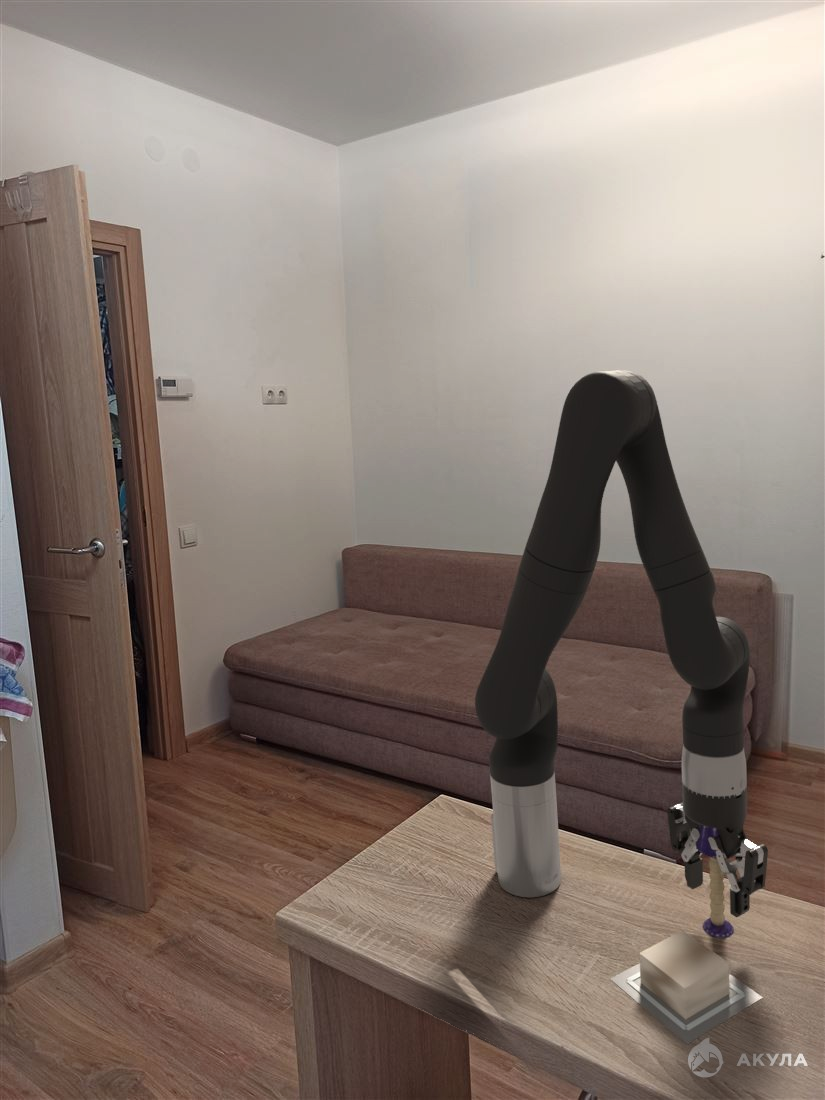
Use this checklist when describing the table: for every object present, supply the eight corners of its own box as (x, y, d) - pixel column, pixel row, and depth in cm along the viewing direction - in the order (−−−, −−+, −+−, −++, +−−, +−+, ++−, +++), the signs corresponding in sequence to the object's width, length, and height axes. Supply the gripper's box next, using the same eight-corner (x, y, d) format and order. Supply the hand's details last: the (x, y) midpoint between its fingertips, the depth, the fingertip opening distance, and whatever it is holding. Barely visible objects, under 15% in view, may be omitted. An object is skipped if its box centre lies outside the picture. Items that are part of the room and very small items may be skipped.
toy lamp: (739, 949, 103) (737, 828, 99) (700, 947, 104) (697, 827, 100) (732, 924, 107) (730, 808, 104) (695, 923, 108) (692, 807, 105)
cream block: (640, 982, 97) (639, 953, 97) (683, 959, 101) (682, 930, 100) (685, 1019, 91) (684, 988, 90) (729, 993, 94) (729, 963, 94)
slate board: (610, 986, 99) (610, 978, 98) (682, 946, 104) (682, 939, 104) (686, 1052, 88) (686, 1043, 88) (762, 1005, 94) (762, 996, 93)
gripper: (648, 766, 106) (653, 882, 109) (740, 812, 93) (742, 942, 96) (690, 750, 109) (693, 863, 112) (784, 792, 97) (785, 918, 100)
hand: (716, 899), depth 104 cm, fingers open, 6 cm apart
